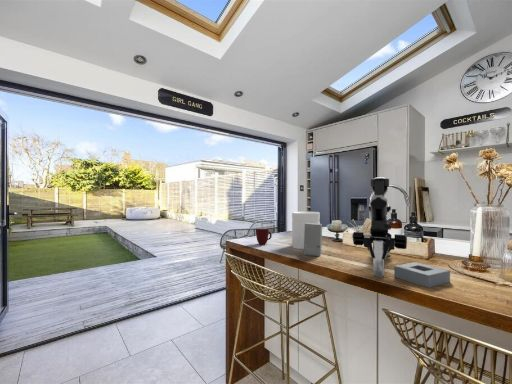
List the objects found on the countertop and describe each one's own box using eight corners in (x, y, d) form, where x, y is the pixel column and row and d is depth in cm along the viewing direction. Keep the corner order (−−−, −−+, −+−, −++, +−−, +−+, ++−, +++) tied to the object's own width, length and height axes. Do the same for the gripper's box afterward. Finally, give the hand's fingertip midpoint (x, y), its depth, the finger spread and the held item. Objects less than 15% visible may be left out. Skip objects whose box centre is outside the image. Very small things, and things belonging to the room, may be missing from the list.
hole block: (415, 272, 96) (415, 262, 96) (450, 282, 85) (449, 270, 85) (394, 276, 91) (394, 265, 91) (428, 287, 80) (428, 275, 80)
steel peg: (377, 273, 95) (377, 239, 95) (386, 276, 92) (385, 241, 92) (371, 274, 93) (370, 240, 93) (379, 277, 90) (379, 242, 90)
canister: (313, 243, 154) (313, 211, 154) (324, 248, 138) (324, 213, 138) (288, 244, 151) (288, 211, 152) (297, 250, 136) (297, 213, 136)
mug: (266, 242, 159) (266, 226, 159) (274, 244, 152) (274, 228, 152) (253, 244, 152) (253, 228, 152) (261, 246, 146) (261, 229, 146)
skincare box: (303, 255, 124) (303, 223, 124) (306, 252, 131) (306, 222, 131) (320, 256, 121) (320, 224, 121) (322, 253, 128) (322, 222, 128)
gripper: (352, 211, 101) (349, 243, 91) (406, 213, 92) (408, 248, 82) (355, 228, 107) (352, 260, 98) (405, 231, 99) (407, 266, 89)
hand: (378, 258), depth 91 cm, fingers closed on steel peg, 3 cm apart
